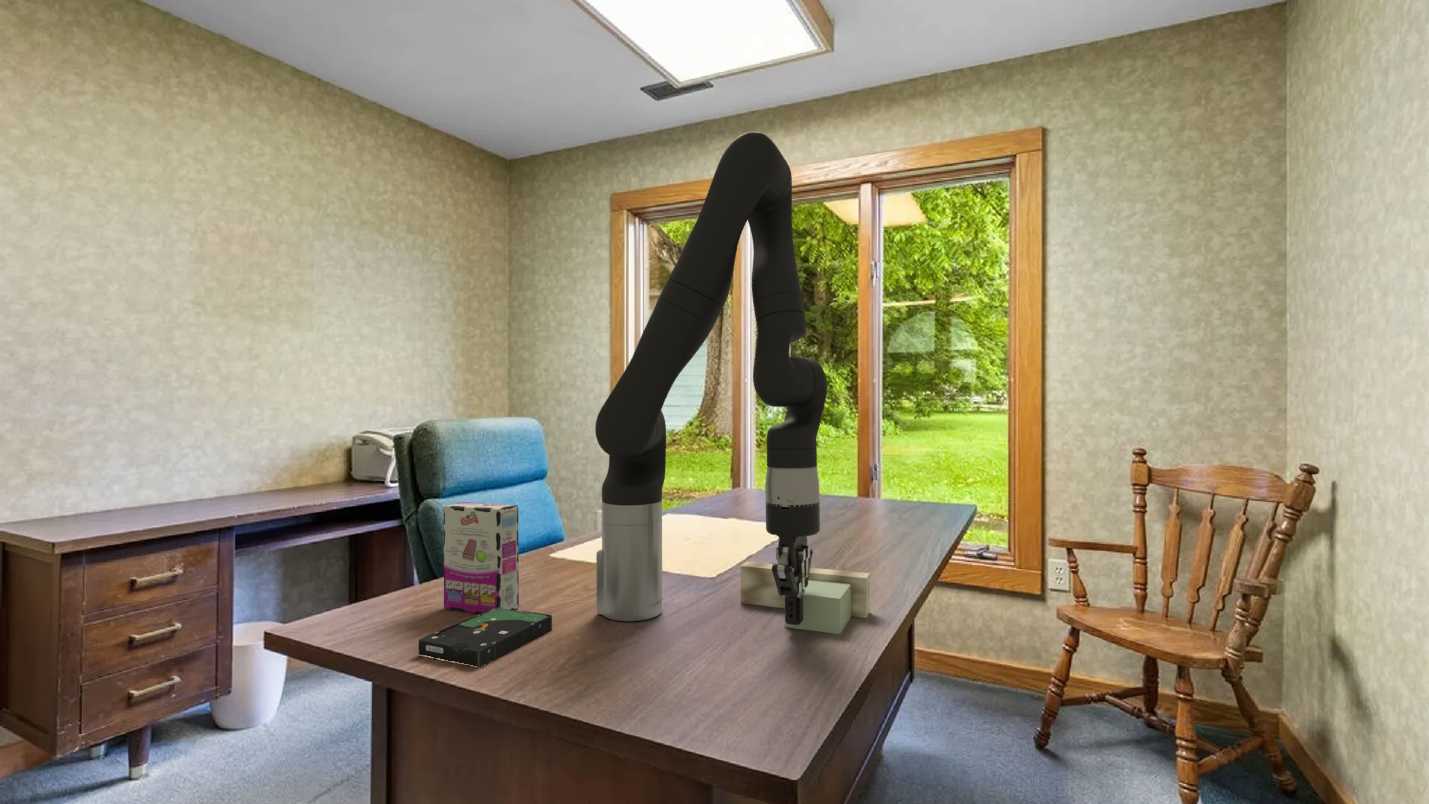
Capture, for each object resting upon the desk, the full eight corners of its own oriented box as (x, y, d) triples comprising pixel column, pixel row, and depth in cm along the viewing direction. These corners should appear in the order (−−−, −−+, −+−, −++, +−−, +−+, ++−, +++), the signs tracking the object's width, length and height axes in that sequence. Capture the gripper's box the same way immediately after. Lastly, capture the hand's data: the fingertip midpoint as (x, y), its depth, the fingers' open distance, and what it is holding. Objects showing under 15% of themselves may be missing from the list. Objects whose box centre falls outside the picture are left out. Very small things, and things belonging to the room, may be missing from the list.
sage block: (784, 626, 96) (784, 592, 96) (799, 610, 103) (799, 578, 103) (839, 634, 93) (839, 598, 93) (850, 616, 100) (850, 583, 100)
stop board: (740, 603, 107) (740, 565, 107) (746, 597, 110) (746, 561, 110) (866, 618, 99) (866, 578, 99) (869, 612, 102) (869, 573, 102)
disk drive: (480, 674, 81) (553, 632, 95) (480, 651, 81) (553, 613, 95) (416, 661, 85) (495, 623, 99) (416, 639, 85) (495, 604, 99)
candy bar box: (520, 608, 104) (520, 504, 104) (499, 618, 100) (499, 509, 100) (465, 600, 109) (464, 500, 109) (441, 609, 104) (441, 504, 104)
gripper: (780, 492, 101) (781, 607, 100) (751, 504, 88) (753, 635, 88) (829, 494, 98) (831, 612, 97) (806, 506, 86) (808, 641, 85)
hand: (794, 623), depth 93 cm, fingers closed
